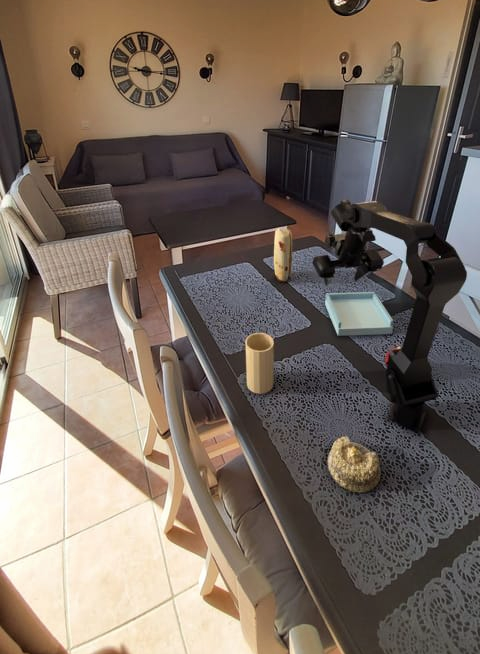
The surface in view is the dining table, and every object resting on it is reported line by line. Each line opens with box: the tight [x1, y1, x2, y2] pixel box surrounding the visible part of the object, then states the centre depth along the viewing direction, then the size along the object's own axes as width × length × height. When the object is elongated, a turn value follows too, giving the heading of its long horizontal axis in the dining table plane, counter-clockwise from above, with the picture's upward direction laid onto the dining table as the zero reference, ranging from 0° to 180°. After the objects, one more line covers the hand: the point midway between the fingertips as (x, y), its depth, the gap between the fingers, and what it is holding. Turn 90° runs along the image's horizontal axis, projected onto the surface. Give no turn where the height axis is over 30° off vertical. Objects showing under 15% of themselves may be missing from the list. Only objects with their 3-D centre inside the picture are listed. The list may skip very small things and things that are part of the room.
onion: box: [384, 345, 403, 367], centre depth 91 cm, size 6×6×8 cm
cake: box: [327, 435, 382, 494], centre depth 69 cm, size 10×10×5 cm
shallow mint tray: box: [324, 291, 394, 337], centre depth 113 cm, size 16×16×4 cm
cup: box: [244, 332, 275, 395], centre depth 88 cm, size 7×7×13 cm
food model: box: [273, 227, 293, 283], centre depth 134 cm, size 10×7×20 cm
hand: (340, 282), depth 104 cm, fingers open, 9 cm apart
